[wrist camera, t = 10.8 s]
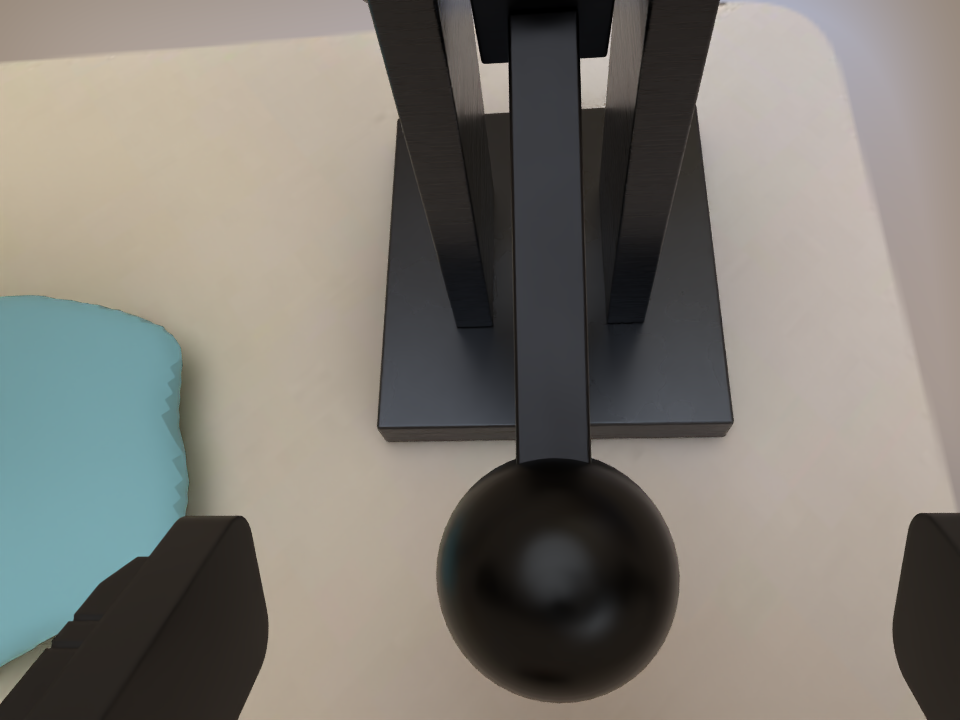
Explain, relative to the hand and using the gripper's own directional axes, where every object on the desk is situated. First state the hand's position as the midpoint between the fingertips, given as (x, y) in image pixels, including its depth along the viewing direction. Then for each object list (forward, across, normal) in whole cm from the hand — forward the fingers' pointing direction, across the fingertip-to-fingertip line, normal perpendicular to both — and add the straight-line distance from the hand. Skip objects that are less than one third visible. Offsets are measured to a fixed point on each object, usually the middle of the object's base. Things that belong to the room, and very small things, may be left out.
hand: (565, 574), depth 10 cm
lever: (+6, 0, -2) cm, 6 cm away
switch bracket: (+14, 0, 0) cm, 14 cm away
